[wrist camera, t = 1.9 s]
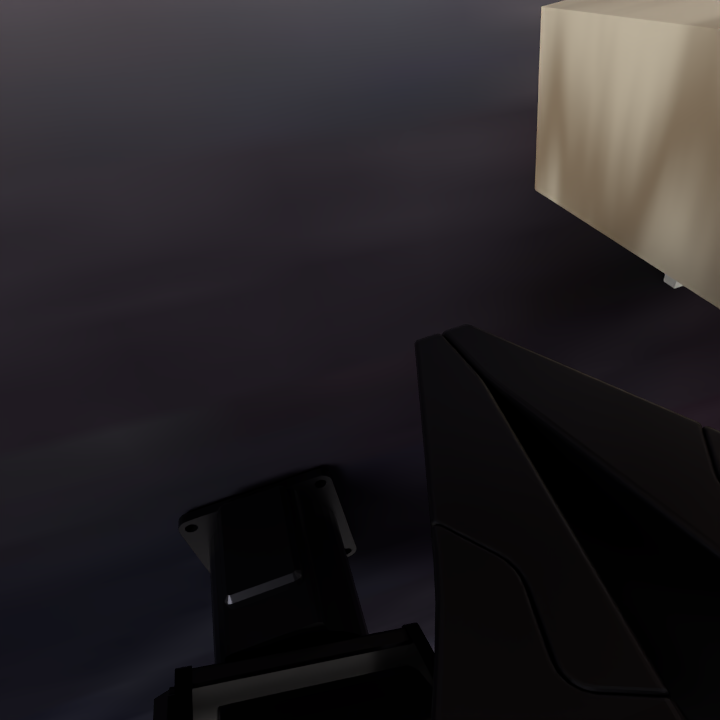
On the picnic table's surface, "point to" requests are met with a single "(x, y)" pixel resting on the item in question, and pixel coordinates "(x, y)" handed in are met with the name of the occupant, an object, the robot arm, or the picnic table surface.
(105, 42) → the picnic table surface
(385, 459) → the picnic table surface
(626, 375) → the picnic table surface
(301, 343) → the picnic table surface
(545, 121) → the birch block
